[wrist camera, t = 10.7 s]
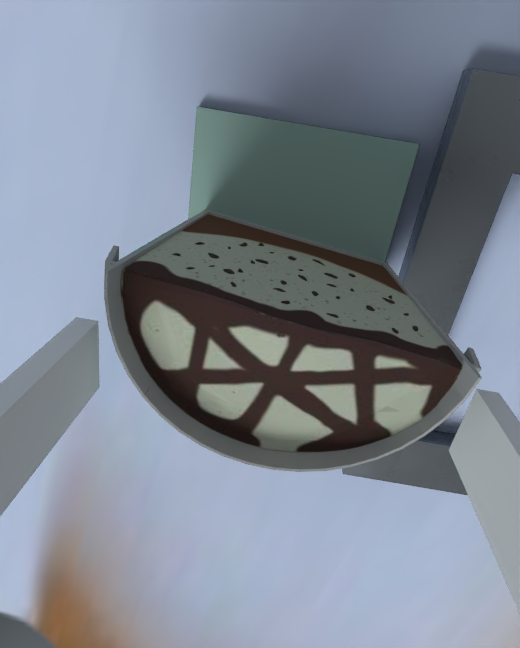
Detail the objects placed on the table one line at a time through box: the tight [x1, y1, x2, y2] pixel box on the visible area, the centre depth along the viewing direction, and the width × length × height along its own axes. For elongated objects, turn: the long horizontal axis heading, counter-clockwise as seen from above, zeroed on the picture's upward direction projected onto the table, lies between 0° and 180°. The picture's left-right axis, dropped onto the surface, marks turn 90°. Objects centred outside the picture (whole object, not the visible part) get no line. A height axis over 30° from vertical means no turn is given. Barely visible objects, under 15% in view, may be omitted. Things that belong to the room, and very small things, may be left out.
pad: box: [188, 107, 419, 262], centre depth 23 cm, size 10×16×1 cm, turn 171°
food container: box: [104, 209, 482, 472], centre depth 18 cm, size 12×6×10 cm, turn 74°
